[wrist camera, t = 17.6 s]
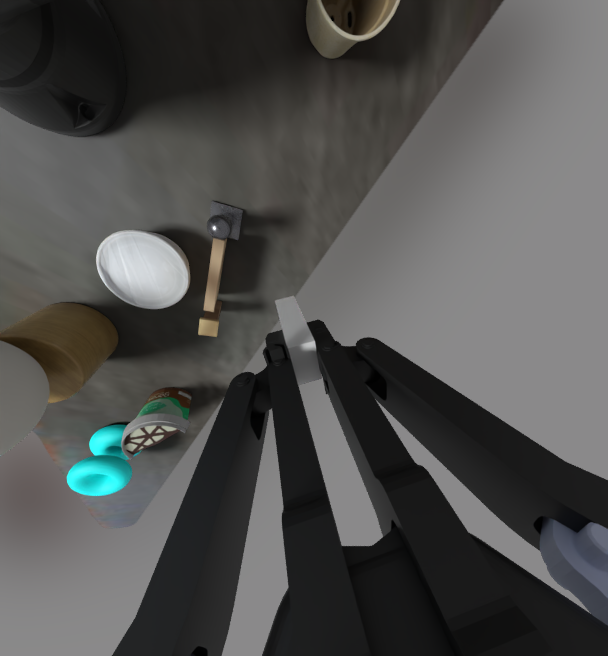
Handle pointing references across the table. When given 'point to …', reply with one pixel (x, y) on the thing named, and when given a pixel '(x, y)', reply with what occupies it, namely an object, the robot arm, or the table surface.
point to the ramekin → (143, 268)
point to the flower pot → (345, 23)
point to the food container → (157, 420)
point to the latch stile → (210, 321)
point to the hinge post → (224, 221)
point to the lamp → (48, 363)
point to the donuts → (102, 465)
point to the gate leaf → (214, 273)
